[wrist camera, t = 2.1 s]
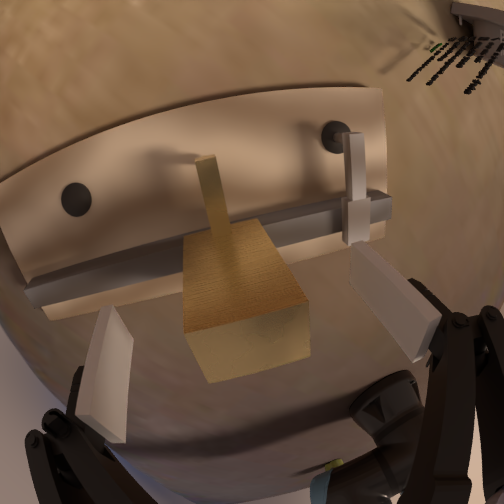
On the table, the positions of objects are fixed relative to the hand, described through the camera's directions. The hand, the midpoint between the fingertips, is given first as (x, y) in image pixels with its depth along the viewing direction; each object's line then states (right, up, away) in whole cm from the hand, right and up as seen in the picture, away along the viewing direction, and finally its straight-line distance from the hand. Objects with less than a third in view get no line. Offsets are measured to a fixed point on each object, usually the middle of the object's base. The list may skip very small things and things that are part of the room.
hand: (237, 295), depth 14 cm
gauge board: (-4, +6, +6) cm, 10 cm away
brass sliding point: (-2, +5, +5) cm, 7 cm away
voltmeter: (+23, +26, +3) cm, 35 cm away
